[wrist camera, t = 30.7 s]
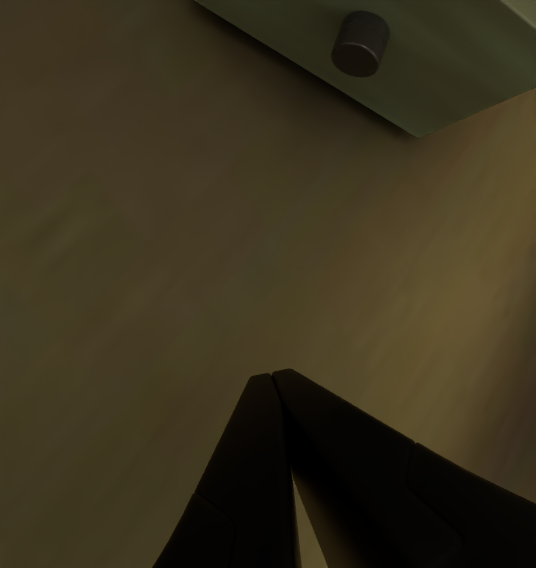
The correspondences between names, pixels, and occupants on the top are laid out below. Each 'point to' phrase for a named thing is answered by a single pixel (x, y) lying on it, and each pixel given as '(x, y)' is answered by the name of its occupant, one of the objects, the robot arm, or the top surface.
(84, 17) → the top surface
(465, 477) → the robot arm
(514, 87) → the drawer
